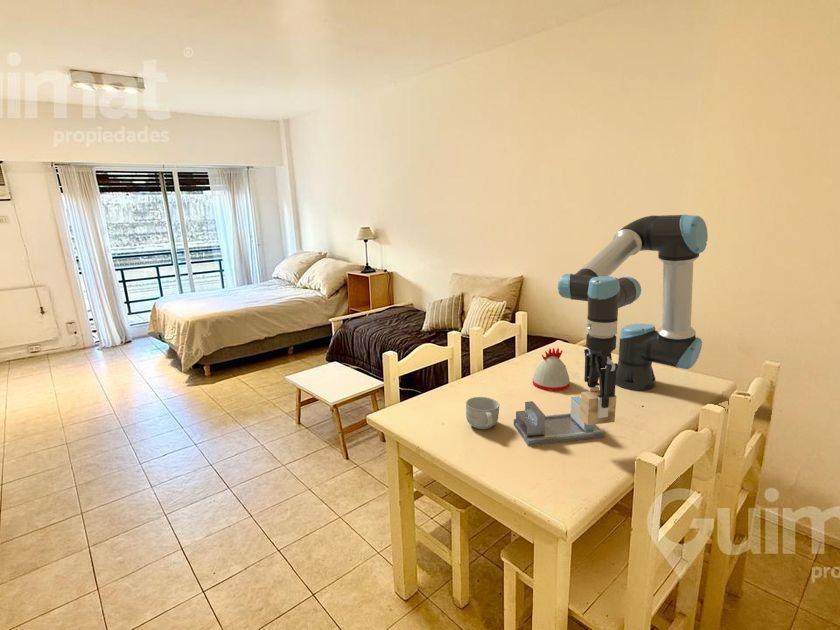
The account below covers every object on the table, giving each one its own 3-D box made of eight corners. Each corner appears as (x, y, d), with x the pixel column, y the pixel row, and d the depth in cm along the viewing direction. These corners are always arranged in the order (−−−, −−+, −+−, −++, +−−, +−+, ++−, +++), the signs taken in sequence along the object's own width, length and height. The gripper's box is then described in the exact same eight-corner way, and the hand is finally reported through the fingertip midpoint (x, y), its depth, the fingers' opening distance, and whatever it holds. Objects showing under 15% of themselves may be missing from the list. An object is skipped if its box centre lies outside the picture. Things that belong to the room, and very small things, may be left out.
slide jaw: (577, 416, 142) (578, 396, 141) (593, 431, 133) (594, 410, 131) (569, 416, 142) (570, 397, 140) (584, 432, 132) (585, 411, 131)
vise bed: (583, 417, 144) (583, 411, 144) (604, 437, 132) (604, 431, 131) (513, 424, 142) (513, 418, 141) (527, 445, 129) (528, 439, 129)
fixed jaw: (532, 420, 141) (533, 401, 139) (545, 436, 131) (545, 415, 129) (515, 422, 140) (516, 402, 138) (527, 438, 130) (527, 417, 129)
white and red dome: (575, 389, 166) (577, 352, 163) (541, 393, 165) (542, 355, 161) (559, 376, 180) (560, 341, 176) (527, 379, 178) (528, 344, 174)
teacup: (465, 417, 148) (464, 396, 146) (497, 416, 148) (496, 395, 146) (468, 438, 135) (467, 415, 133) (503, 438, 134) (503, 414, 132)
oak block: (605, 414, 127) (607, 389, 125) (614, 422, 122) (616, 396, 120) (579, 417, 126) (581, 392, 124) (587, 425, 121) (589, 399, 119)
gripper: (573, 326, 126) (570, 400, 132) (605, 345, 109) (601, 429, 115) (597, 324, 126) (594, 397, 132) (633, 342, 109) (628, 426, 115)
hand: (597, 412), depth 123 cm, fingers closed on oak block, 4 cm apart
